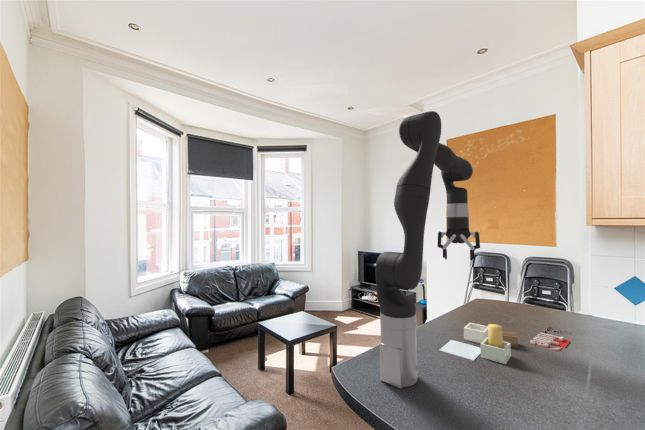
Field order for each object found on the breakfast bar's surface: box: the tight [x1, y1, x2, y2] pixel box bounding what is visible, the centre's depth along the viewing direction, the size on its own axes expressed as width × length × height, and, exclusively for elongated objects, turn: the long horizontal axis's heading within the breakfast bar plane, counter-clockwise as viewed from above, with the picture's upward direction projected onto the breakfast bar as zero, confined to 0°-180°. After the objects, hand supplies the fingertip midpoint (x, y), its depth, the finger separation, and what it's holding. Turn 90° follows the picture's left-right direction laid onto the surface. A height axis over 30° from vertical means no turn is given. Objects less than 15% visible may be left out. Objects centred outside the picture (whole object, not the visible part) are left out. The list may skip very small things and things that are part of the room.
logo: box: [529, 325, 572, 352], centre depth 100 cm, size 25×2×10 cm
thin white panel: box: [439, 339, 481, 362], centre depth 91 cm, size 10×10×1 cm
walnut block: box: [502, 330, 519, 349], centre depth 94 cm, size 4×4×4 cm
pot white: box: [463, 322, 488, 344], centre depth 99 cm, size 6×6×4 cm
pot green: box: [479, 337, 512, 365], centre depth 86 cm, size 6×6×4 cm
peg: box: [487, 323, 503, 349], centre depth 86 cm, size 4×4×9 cm
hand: (458, 259), depth 108 cm, fingers open, 8 cm apart
